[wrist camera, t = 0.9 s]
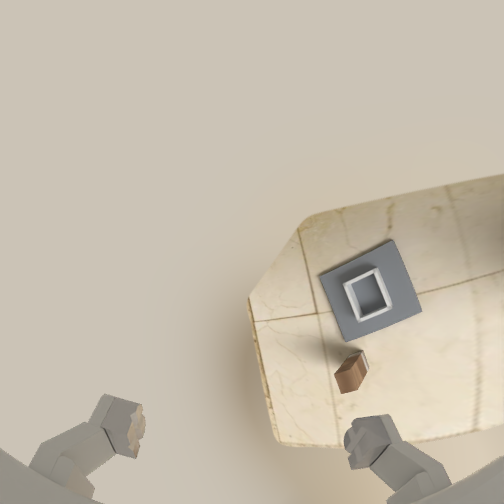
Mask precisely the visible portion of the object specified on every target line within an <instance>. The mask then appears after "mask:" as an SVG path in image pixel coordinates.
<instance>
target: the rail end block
mask: <svg viewBox="0 0 504 504" xmlns="http://www.w3.org/2000/svg"><path fill="white" fill-rule="evenodd" d="M368 370H369V365H368V363H367V360H366V357H365V354H364V351H360V352H357V353H354V354H351V355H349V357H348V358H347V359H346V360H345V362H344V363H343V364H342V365H341V367H340V368H339V369H338V370H337V371H336V373H335V374H334V376H335V378H336V381H337V384H338V386H339V389H340V392H341V394H344V393H348V392H352V391H355V390H358V388H359V386H360V384H361V383H362V381H363V379H364V377H365V375H366V373H367V372H368Z"/></svg>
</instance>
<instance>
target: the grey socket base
mask: <svg viewBox="0 0 504 504" xmlns="http://www.w3.org/2000/svg"><path fill="white" fill-rule="evenodd" d="M320 280H321V282H322V284H323V287H324V289H325V292H326V294H327V296H328V299H329V301H330V304H331V306H332V309H333V311H334V314H335V316H336V319H337V322H338V324H339V327H340V329H341V332H342V334H343V337H344V340H345V342H348V341H351V340H354V339H357V338H359V337H362V336H365V335H367V334H370V333H373V332H375V331H378V330H380V329H383V328H385V327H388V326H390V325H393V324H395V323H397V322H400V321H402V320H404V319H407V318H409V317H411V316H413V315H416V314H418V313H420V312H422V309H421V306H420V304H419V301H418V298H417V295H416V293H415V290H414V288H413V285H412V282H411V280H410V277H409V275H408V273H407V270H406V268H405V265H404V263H403V261H402V258H401V256H400V254H399V252H398V249H397V247H396V245H395V243H394V241H393V240H392V241H390V242H388V243H386V244H384V245H382V246H380V247H378V248H376V249H375V250H373V251H371V252H369V253H367V254H365V255H363V256H361V257H359V258H357V259H355V260H353V261H351V262H349V263H347V264H345V265H343V266H341V267H339V268H337V269H334V270H332V271H330V272H328V273H326V274H324V275H322V276H320Z"/></svg>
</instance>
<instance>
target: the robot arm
mask: <svg viewBox="0 0 504 504" xmlns="http://www.w3.org/2000/svg"><path fill="white" fill-rule="evenodd" d="M142 411H143V408H142V404H138V403H134V402H131V401H127V400H124V399H120V398H117V397H114V396H111V395H107V394H104V395H103V396H102V397H101V398H100V400H99V402H98V404H97V406H96V408H95V410H94V412H93V414H92V416H91V418H90V420H89V422H88V423H86V422H83V423H81V424H80V425H78V426H76V427H74V428H72V429H70V430H68V431H66V432H64V433H62V434H60V435H58V436H56V437H54V438H51V439H50V440H47V441H45V442H43V443H41V445H40V447H39V448H38V450H37V452H36V454H35V455H34V457H33V459H32V461H31V463H30V465H29V467H27V466H26V465H24V464H22V463H21V462H19V461H18V460H16V459H15V458H14V457H12V456H11V455H9V454H8V453H6V452H5V451H4V450H2V449H1V448H0V504H103V503H100V502H97V501H95V500H92V496H93V493H94V490H95V488H94V486H93V485H92V484H91V483H90V481H89V480H88V479H87V478H86V476H87V475H89V474H90V473H91V472H93V471H94V470H96V469H97V468H98V467H100V466H101V465H102V464H104V463H105V462H106V461H107V460H109V459H110V458H112V457H113V456H114V455H115V453H116V454H120V455H124V456H127V457H131V458H135V459H136V457H137V454H138V451H139V448H140V445H139V441H138V440H139V439H141V438H143V435H144V432H145V417H144V416H143V415H142ZM351 424H352V427H351V428H350V429H348V430H347V432H346V433H345V436H344V446H345V450H347V451H348V452H349V453H350V454H349V457H348V460H349V463H350V467H351V469H352V470H354V469H361V468H367V467H370V469H371V470H372V471H373V472H374V473H375V474H376V475H377V476H378V477H379V478H381V479H382V480H383V481H384V482H385V483H386V484H387V485H388V486H389V487H390V488H392V489H393V490H394V491H395V493H394V494H393V495H392V496H390V497H389V498H388V499H387V500H386V501H387V504H504V456H500V457H498V458H496V459H495V460H493V461H492V462H490V463H489V464H487V465H486V466H484V467H482V468H481V469H480V470H478V471H476V472H474V473H472V474H471V475H469V476H467V477H465V478H464V479H462V480H460V481H458V482H456V483H454V484H452V483H451V481H450V479H449V477H448V475H447V473H446V471H445V469H444V467H443V465H442V464H441V463H440V462H438V461H436V460H435V459H433V458H431V457H430V456H428V455H427V454H425V453H424V452H422V451H420V450H419V449H417V448H416V447H414V446H413V445H411V444H410V443H408V442H406V441H402V439H401V437H400V435H399V432H398V430H397V428H396V426H395V424H394V422H393V420H392V418H391V416H390V415H389V414H385V415H379V416H370V417H362V418H356V419H354V420H353V422H352V423H351Z"/></svg>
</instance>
